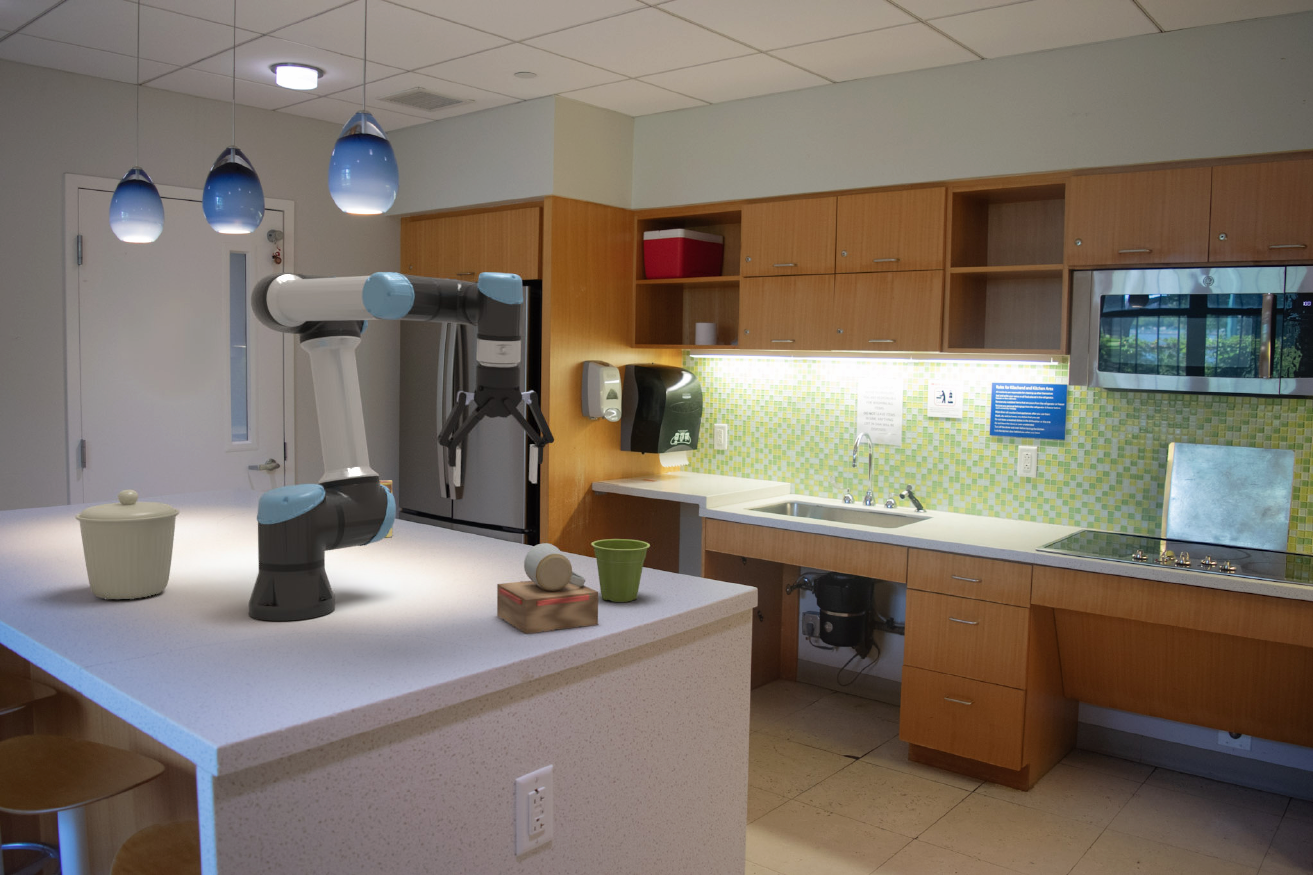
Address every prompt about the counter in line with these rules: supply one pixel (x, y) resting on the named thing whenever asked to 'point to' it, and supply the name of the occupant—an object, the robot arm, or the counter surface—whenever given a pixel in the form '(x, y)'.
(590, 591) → the wooden box
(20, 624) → the counter surface
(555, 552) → the ceramic mug
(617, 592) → the plant pot
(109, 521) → the canister
